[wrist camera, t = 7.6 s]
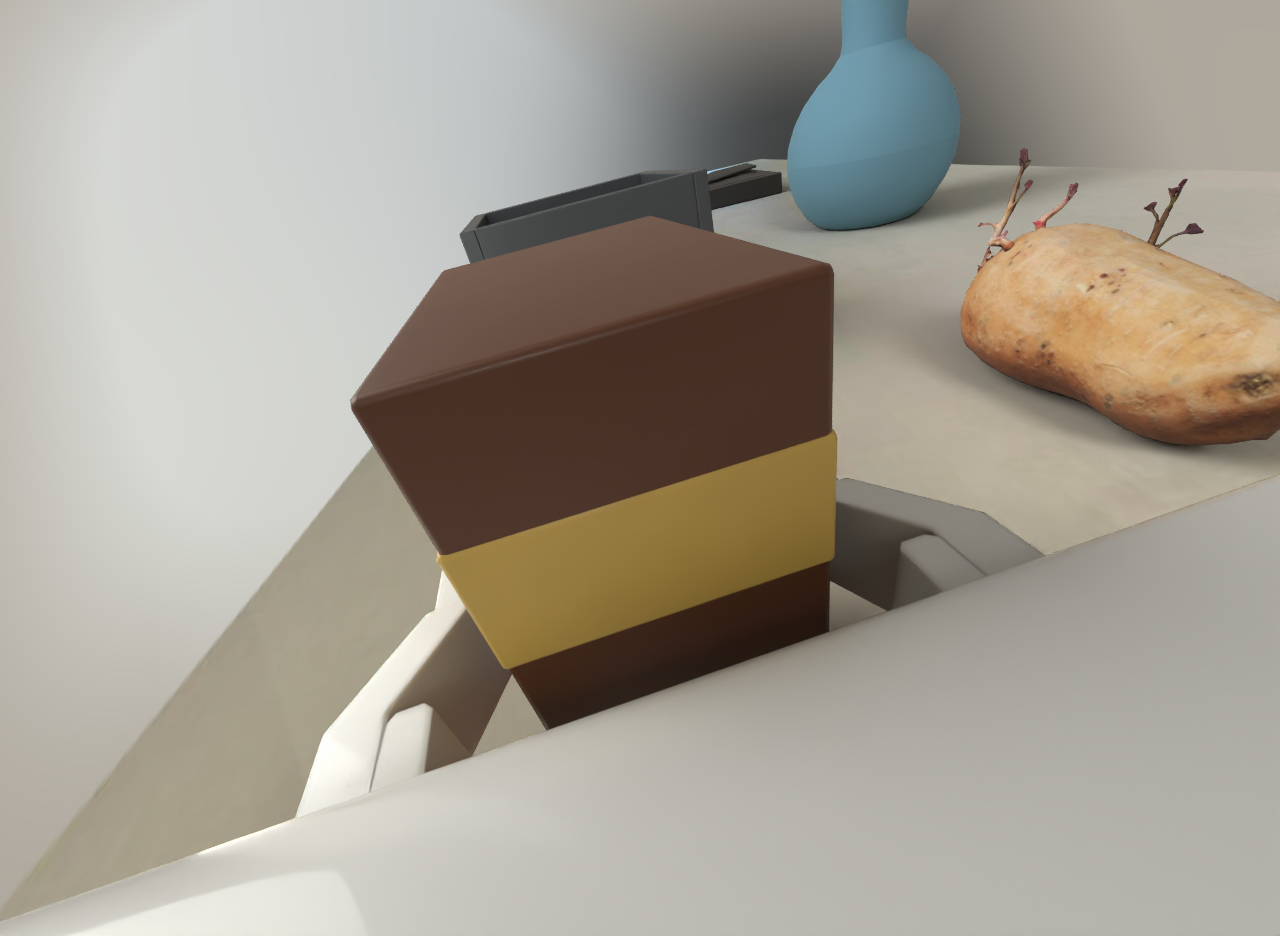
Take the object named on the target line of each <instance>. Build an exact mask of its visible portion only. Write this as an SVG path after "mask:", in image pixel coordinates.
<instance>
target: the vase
mask: <svg viewBox="0 0 1280 936" xmlns="http://www.w3.org/2000/svg"><path fill="white" fill-rule="evenodd" d="M907 8H908V0H842V39H843V43H842V49H841V55H840V58H839V60H838V61H837V63H836V64H835V66H834V68H833V69H832V71H831V73H830V74H829V75H828V76H827V77H826V78H825V79H824V80H823V81H822V83H821V84H820V85H819V86H818V87H817V89H816V90H815V92H814V93H813V95H812V96H811V97H810V99H809V101H808V102H807V103H806V105H805V106H804V108H803V110H802V112H801V114H800V116H799V118H798V121H797V123H796V125H795V127H794V130H793V134H792V138H791V141H790V145H789V148H788V162H787V170H788V179H789V188H790V190H791V192H792V195H793V197H794V200H795V202H796V204H797V205H798V207H799V208H800V210H801V211H802V213H803V214H804V216H805V217H806V219H808V220H809V221H810V222H812V223H813V224H815V225H816V226H818V227H820V228H823V229H830V230H847V229H859V228H867V227H874V226H878V225H882V224H886V223H891V222H894V221H897V220H900V219H903V218H905V217H908V216H910V215H911V214H913V213H914V212H916V211H917V210H918V209H919V208H920V207H921V206H922V205H923V204H925V203H926V202H927V201H928V200H929V199H930V198H931V196H932V195H933V193H934V192H935V190H936V189H937V187H938V186H939V184H940V183H941V182H942V180H943V179H944V177H945V175H946V173H947V171H948V169H949V167H950V165H951V163H952V161H953V158H954V157H955V152H956V148H957V143H958V138H959V134H960V114H961V111H960V108H959V104H958V100H957V96H956V92H955V88H954V87H953V85H952V83H951V81H950V80H949V78H948V76H947V74H946V73H945V72H944V70H942V68H941V67H939V66H938V65H937V64H936V63H935V62H934V61H933V60H932V59H931V58H930V57H929V56H927V55H926V54H924V53H922V52H920V51H919V50H917V49H916V48H915V47H914V46H913V45H912V43H911V42H910V41H909V40H908V39H907V35H906V16H907Z"/></svg>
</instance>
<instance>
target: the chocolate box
mask: <svg viewBox="0 0 1280 936" xmlns="http://www.w3.org/2000/svg"><path fill="white" fill-rule="evenodd" d="M833 311H834V272H833V269H832V267H831V265H830V264H828V263H824V262H820V261H817V260H813V259H809V258H806V257H802V256H798V255H795V254H791V253H787V252H783V251H780V250H776V249H772V248H769V247H765V246H761V245H757V244H754V243H750V242H746V241H743V240H739V239H735V238H732V237H728V236H724V235H720V234H717V233H713V232H709V231H706V230H702V229H698V228H694V227H691V226H687V225H683V224H680V223H676V222H672V221H668V220H665V219H661V218H657V217H654V216H647V217H643V218H639V219H636V220H632V221H628V222H624V223H621V224H617V225H613V226H609V227H606V228H602V229H598V230H594V231H591V232H587V233H583V234H579V235H576V236H572V237H568V238H564V239H561V240H557V241H553V242H549V243H546V244H542V245H538V246H534V247H531V248H527V249H523V250H519V251H516V252H512V253H508V254H504V255H501V256H497V257H493V258H489V259H486V260H482V261H478V262H474V263H471V264H467V265H463V266H460V267H456V268H452V269H448V270H445V271H443V272H442V273H441V275H440V276H439V277H438V279H437V280H436V281H435V283H434V284H433V286H432V287H431V288H430V290H429V291H428V293H427V294H426V295H425V297H424V298H423V300H422V301H421V302H420V304H419V305H418V306H417V308H416V309H415V311H414V312H413V313H412V315H411V316H410V318H409V319H408V320H407V322H406V323H405V325H404V326H403V327H402V329H401V330H400V332H399V333H398V334H397V336H396V337H395V338H394V340H393V341H392V343H391V344H390V345H389V347H388V348H387V350H386V351H385V353H384V354H383V355H382V357H381V358H380V359H379V361H378V362H377V364H376V365H375V366H374V368H373V369H372V371H371V372H370V373H369V375H368V376H367V377H366V379H365V380H364V382H363V383H362V385H361V386H360V387H359V389H358V390H357V391H356V393H355V394H354V396H353V397H352V398H351V400H350V401H351V409H352V411H353V413H354V415H355V416H356V418H357V420H358V421H359V423H360V425H361V426H362V428H363V429H364V431H365V433H366V434H367V436H368V438H369V439H370V441H371V443H372V444H373V446H374V448H375V449H376V451H377V453H378V454H379V456H380V457H381V459H382V461H383V462H384V464H385V466H386V467H387V469H388V471H389V472H390V474H391V476H392V477H393V479H394V480H395V482H396V484H397V485H398V487H399V489H400V490H401V492H402V494H403V495H404V497H405V499H406V500H407V502H408V503H409V505H410V507H411V508H412V510H413V512H414V513H415V515H416V517H417V518H418V520H419V522H420V523H421V525H422V526H423V528H424V530H425V531H426V533H427V535H428V536H429V538H430V540H431V541H432V543H433V545H434V546H435V548H436V550H437V562H438V564H439V565H440V567H441V569H442V570H443V572H444V573H445V575H446V577H447V578H448V580H449V582H450V583H451V585H452V586H453V588H454V590H455V591H456V593H457V594H458V596H459V598H460V599H461V601H462V603H463V604H464V606H465V607H466V609H467V611H468V612H469V614H470V615H471V617H472V619H473V620H474V622H475V624H476V625H477V627H478V628H479V630H480V632H481V633H482V635H483V636H484V638H485V640H486V641H487V643H488V644H489V646H490V648H491V649H492V651H493V653H494V654H495V656H496V657H497V659H498V661H499V662H500V664H501V665H502V667H503V668H504V669H510V671H511V673H512V674H513V676H514V678H515V679H516V681H517V683H518V684H519V686H520V688H521V689H522V691H523V692H524V694H525V696H526V697H527V699H528V701H529V702H530V704H531V706H532V707H533V709H534V711H535V712H536V714H537V716H538V717H539V719H540V720H541V722H542V724H543V725H544V727H545V729H546V730H550V729H552V728H555V727H558V726H561V725H564V724H567V723H570V722H572V721H575V720H578V719H581V718H584V717H587V716H590V715H592V714H595V713H598V712H601V711H604V710H607V709H610V708H612V707H615V706H618V705H621V704H624V703H627V702H630V701H632V700H635V699H638V698H641V697H644V696H647V695H650V694H652V693H655V692H658V691H661V690H664V689H667V688H670V687H672V686H675V685H678V684H681V683H684V682H687V681H690V680H692V679H695V678H698V677H701V676H704V675H707V674H710V673H712V672H715V671H718V670H721V669H724V668H727V667H730V666H732V665H735V664H738V663H741V662H744V661H747V660H749V659H752V658H755V657H758V656H761V655H764V654H767V653H770V652H772V651H775V650H778V649H781V648H784V647H787V646H790V645H792V644H795V643H798V642H801V641H804V640H807V639H810V638H812V637H815V636H818V635H821V634H824V633H827V632H829V601H830V561H831V560H832V559H833V558H834V556H835V518H836V471H837V436H836V433H835V431H834V430H833V429H832V384H833Z"/></svg>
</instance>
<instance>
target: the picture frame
mask: <svg viewBox="0 0 1280 936" xmlns="http://www.w3.org/2000/svg"><path fill="white" fill-rule="evenodd" d="M755 167H756V165H752V164H748V163H746V164H742V165H738V166H734V167H730V168H726V169H722V170H718V171H714V172H711V173H709V174H707V177H708V186H709V194H710V203H711V210H712V209H716V208H720V207H724V206H728V205H732V204H736V203H741V202H745V201H749V200H753V199H757V198H761V197H765V196H769V195H773V194H777V193H781V192H782V178H781V172H771V171H761V170H751V169H752V168H755Z"/></svg>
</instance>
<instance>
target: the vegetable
mask: <svg viewBox="0 0 1280 936" xmlns="http://www.w3.org/2000/svg"><path fill="white" fill-rule="evenodd" d="M1020 157H1021V158H1020V167H1021V169H1020V172H1019V175H1018V177H1017V180H1016V182H1015V184H1014V187H1013V190H1012V194H1011V196H1010V199H1009V202H1008V205H1007V208H1006V210H1005V213H1004V215H1003V217H1002V219H1001V221H1000V222H999V223H998V224H991V223H986V224H983V223H980V224H979V225H978V227H979V226H983V225H992V226H993V227H994V230H995V232H994V234H993V236H992V237H991V238H990V239H989V242H988V244H989V245H990V246H999V247H1002V249H1001V250H1000V251H999V252H998V253H997V254H996V255H994V256H991V258H989V259H986V258H987V257H988V256H989V255H990V254H991V251H990V246H989V248H988V249H987V251H986V254H985V256H984V259H983V262H982V264H981V266H979V265H978V266H979V268H978V270H977V275H976V277H975V278H974V280H973V282H972V283H971V285H970V287H969V288H968V290H967V293H966V296H965V299H964V302H963V305H962V309H961V332H962V337H963V339H964V342H965V344H966V346H967V347H968V348H969V349H971V350H972V351H973V352H974V353H975V354H976V355H977V356H978V357H979V358H980V359H981V360H982V361H983V362H985V363H986V364H988V365H989V366H991V367H993V368H994V369H996V370H998V371H1000V372H1001V373H1003V374H1005V375H1007V376H1009V377H1012V378H1014V379H1017V380H1019V381H1021V382H1024V383H1026V384H1029V385H1032V386H1035V387H1038V388H1042V389H1045V390H1049V391H1052V392H1055V393H1058V394H1062V395H1065V396H1067V397H1070V398H1073V399H1076V400H1079V401H1082V402H1084V403H1085V404H1087V405H1089V406H1090V407H1092V408H1094V409H1095V410H1097V411H1099V412H1101V413H1102V414H1103V415H1105V416H1106V417H1108V418H1109V419H1110V420H1112V421H1113V422H1115V423H1116V424H1118V425H1120V426H1121V427H1123V428H1124V429H1126V430H1128V431H1131V432H1133V433H1136V434H1138V435H1141V436H1144V437H1148V438H1152V439H1155V440H1159V441H1163V442H1166V443H1172V444H1182V445H1214V444H1231V443H1237V442H1243V441H1249V440H1266V439H1268V438H1269V437H1270V436H1272V435H1273V434H1274V433H1275V432H1276V431H1278V430H1280V302H1278V301H1276V300H1275V299H1273V298H1271V297H1268V296H1266V295H1264V294H1262V293H1260V292H1258V291H1256V290H1254V289H1251V288H1249V287H1247V286H1245V285H1244V284H1242V283H1240V282H1238V281H1236V280H1235V279H1232V278H1230V277H1227V276H1225V275H1222V274H1220V273H1217V272H1215V271H1212V270H1210V269H1207V268H1205V267H1202V266H1200V265H1197V264H1195V263H1192V262H1190V261H1187V260H1185V259H1182V258H1180V257H1178V256H1175V255H1173V254H1171V253H1168V252H1166V251H1164V250H1161V249H1159V248H1160V247H1161V246H1162V245H1163V244H1165V243H1166V242H1167V241H1169V240H1170V239H1171V238H1173V237H1175V236H1178V235H1181V234H1186V233H1187V234H1198V233H1203V232H1204V231H1203V230H1202V229H1201V228H1200V227H1199V226H1198V225H1197V224H1196V223H1194V224H1189V225H1188V227H1187V228H1186V230H1185V231H1183V232H1180V233H1177V234H1175V235H1173V236H1171V237H1169V238H1168V239H1166V240H1165V241H1164V242H1163V243H1161V244H1160V245H1155V243H1156V241H1157V238H1158V236H1159V234H1160V231H1161V229H1162V227H1163V226H1164V223H1165V221H1166V219H1167V217H1168V216H1169V212H1170V211H1171V209H1172V207H1173V204H1174V202H1175V201H1176V200H1177V198H1178V196H1179V194H1180V192H1181V190H1182V188H1183V186H1184V184H1185V183H1186V181H1187V179H1183V180H1182V181H1181V182H1180V184H1179V187H1176V188H1173V189H1170V188H1168V189H1169V195H1170V198H1171V201H1170V204H1169V206H1168V207H1167V208H1166V209H1165V211H1164V213H1163V215H1162V217H1161V219H1160V221H1159V218H1158V214H1157V213H1156V212H1155V210H1154V207H1155V206H1156V204H1157V202H1152V203H1151V204H1149V205H1148V206H1147V207H1144V209H1145V210H1147V211H1151V212H1152V213H1153V214H1154V216H1155V218H1156V222H1155V225H1154V229H1153V232H1152V234H1151V236H1150V238H1149V240H1148V242H1145V241H1143V240H1141V239H1139V238H1137V237H1135V236H1133V235H1130V234H1128V233H1125V232H1122V230H1121V231H1120V230H1117V229H1113V228H1109V227H1104V226H1100V225H1094V224H1088V223H1081V224H1070V225H1063V226H1056V227H1047V228H1045V226H1046V221H1047V220H1048V219H1050V218H1051V217H1052V216H1053V215H1054V214H1056V213H1057V212H1059V211H1060V210H1061V209H1062V208H1063V207H1064V206H1065V205H1066V204H1067V202H1068V201H1069V200H1070V199H1071V198H1072V196H1073V195H1074V194H1075V193H1076V192H1077V187H1078V183H1075V185H1074V184H1070V187H1069V191H1068V194H1067V197H1066V198H1065V199H1064V200H1063V201H1062V202H1061V204H1059V205H1058V206H1057V207H1056V208H1055V209H1053V210H1052V211H1051V212H1049V213H1047V214H1045V215H1043V216H1042V217H1041V218H1039V219H1038V220H1037V221H1036V222H1033V223H1034V224H1035V229H1036V230H1035V231H1032V232H1029V233H1027V234H1024V235H1022V236H1020V237H1019V238H1017V239H1015V240H1014V241H1010V240H1008V239H1006V238H1004V237H1005V235H1006V234H1007V233H1008V230H1007V231H1005V234H1003V235H1001V232H1002V230H1003V228H1004V227H1005V225H1006V223H1007V221H1008V219H1009V217H1010V215H1011V214H1012V212H1013V210H1014V208H1015V206H1016V204H1017V202H1018V201H1019V199H1020V198H1021V197H1022V195H1023V194H1024V193H1025V192H1026V191H1027V190H1028V189H1029V187H1030V186H1031V185H1032V183H1033V181H1032V180H1028V181H1027V182H1026V183H1025V184H1024V185H1025V188H1026V189H1025V190H1024V191H1023V192H1022V193H1021V195H1020V196H1019V197H1018V198H1017V199H1016V201H1015V197H1016V193H1017V190H1018V189H1019V185H1020V179H1021V176H1022V174H1023V172H1024V170H1025V169H1026V168H1027V167H1028V165H1029V163H1030V161H1031V160H1028V150H1027V149H1025V148H1023V149H1022V150H1021V151H1020ZM1023 165H1024V166H1023ZM1176 193H1177V195H1175V194H1176ZM1000 235H1001V236H1000Z"/></svg>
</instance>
